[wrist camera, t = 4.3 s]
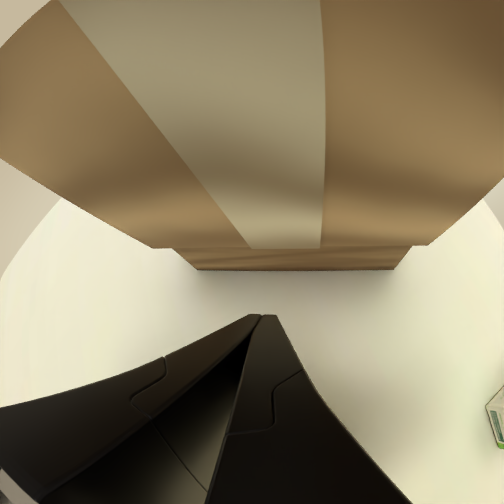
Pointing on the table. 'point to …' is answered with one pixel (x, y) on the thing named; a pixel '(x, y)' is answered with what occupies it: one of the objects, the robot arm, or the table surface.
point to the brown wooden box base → (295, 258)
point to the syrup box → (497, 416)
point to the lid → (260, 117)
